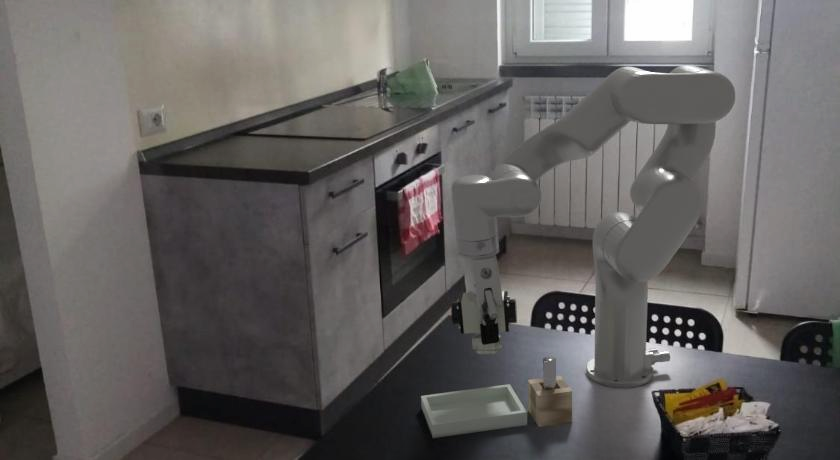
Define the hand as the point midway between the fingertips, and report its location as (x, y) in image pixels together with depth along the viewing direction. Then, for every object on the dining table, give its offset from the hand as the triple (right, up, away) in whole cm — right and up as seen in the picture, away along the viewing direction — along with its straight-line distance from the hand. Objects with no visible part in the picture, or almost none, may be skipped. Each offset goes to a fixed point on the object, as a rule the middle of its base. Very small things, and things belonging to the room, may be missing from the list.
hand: (485, 334), depth 161 cm
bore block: (+11, -13, -9) cm, 19 cm away
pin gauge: (+11, -13, -9) cm, 19 cm away
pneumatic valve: (0, -3, +1) cm, 3 cm away
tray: (-3, -13, -8) cm, 16 cm away
